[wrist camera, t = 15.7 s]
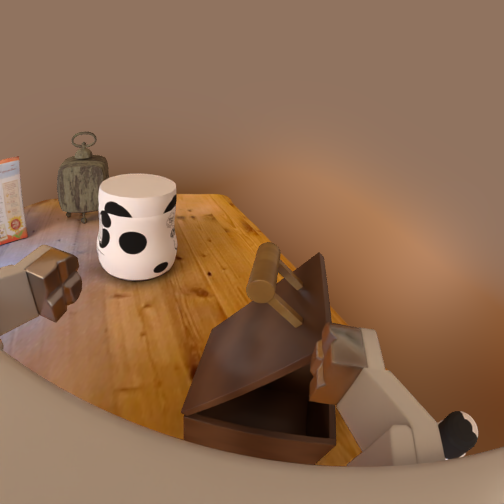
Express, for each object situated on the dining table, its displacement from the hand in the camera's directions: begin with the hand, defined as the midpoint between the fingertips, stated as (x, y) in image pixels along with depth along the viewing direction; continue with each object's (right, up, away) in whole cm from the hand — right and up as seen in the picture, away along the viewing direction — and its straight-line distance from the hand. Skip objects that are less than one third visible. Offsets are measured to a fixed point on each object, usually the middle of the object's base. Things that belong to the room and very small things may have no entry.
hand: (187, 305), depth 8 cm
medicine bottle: (+25, -29, +19) cm, 43 cm away
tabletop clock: (-45, +10, +64) cm, 79 cm away
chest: (+2, -21, +25) cm, 33 cm away
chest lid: (+2, -7, +18) cm, 19 cm away
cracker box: (-63, +5, +47) cm, 79 cm away
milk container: (-23, -1, +51) cm, 56 cm away
